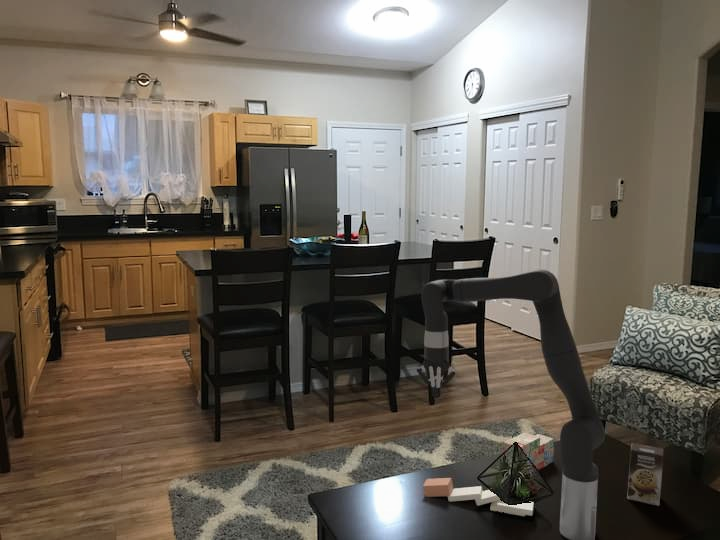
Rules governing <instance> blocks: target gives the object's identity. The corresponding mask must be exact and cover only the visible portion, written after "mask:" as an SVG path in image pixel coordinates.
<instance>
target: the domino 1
mask: <svg viewBox="0 0 720 540" xmlns="http://www.w3.org/2000/svg"><path fill="white" fill-rule="evenodd" d="M422 489H423V492H424V497H425V498H426V497H428V498H431V497H432V498H433V497H435V498H436V497H448V496H450V495H451V493H452V491H453V489H455V488H454V484H453V480H452V477H442V478H441V477H437V478H435V477H434V478H426V480H425V482H424V483H423V485H422Z"/></svg>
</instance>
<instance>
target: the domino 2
mask: <svg viewBox="0 0 720 540" xmlns="http://www.w3.org/2000/svg"><path fill="white" fill-rule="evenodd" d="M483 491H484V490H483V487H482V485H480V486H478V485H477V486H468V487H459V488H458V487H455V488H454V489H453V491H452V493H451V495H450V496H447V499H448V502H450V503H451V502H460V501H461V502H463V501H471V500H475V499H481V498H482V492H483Z"/></svg>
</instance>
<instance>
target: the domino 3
mask: <svg viewBox="0 0 720 540" xmlns="http://www.w3.org/2000/svg"><path fill="white" fill-rule="evenodd" d="M498 500H500V498H499V497H498V496H497V495H496V494H494V493H493V492H491V491H490V490H489V489H486V490H483V492H482V498H481V499H474V502H475V504H476V506H477V507H478V506H482V505H485V504H490V503H492V502H494V501H498Z"/></svg>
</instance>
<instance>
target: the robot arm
mask: <svg viewBox="0 0 720 540" xmlns="http://www.w3.org/2000/svg"><path fill="white" fill-rule="evenodd" d="M560 291H561V290H560V286H559V282H558V279H557V278H556V276H555V274H554V273H553V272H551V271H549V270H547V269H533V270H530V271H527V272H522V273H519V274H514V275H510V276H501V277H471V278H461V279H436V280H433V281H430V282H427V283H426V284H425V285H423V288H422V291H421V304H422V309H423V313H424V337H423V338H424V339H423V345H424V349H423V350H424V354H423V355H424V360H423V362H422V365H421V366H419V367H418V368H417V369H416V372H417V373H418V375H419V376H420V378H421V379H422V381H423V382H424V383H425V384H426V385H427V386H428V385H429V386H431V397H433V399H435V400H436V399H437V400H439V399H440V398H441V397H442V393H443V392H442V390H443V389H442V387H446V386H447V385H448V383H449V382H450V381H451V380H452V378H453V377H454V376H455V375H456V374H457V369H454V368H453V367H451V363H450V361H449V360H450V358H449V357H450V356H449V353H450V351H449V346H450V345H449V343H450V342H449V330H448V328H449V326H448V325H449V322H448V321H449V319H448V317H449V316H448V314H447V312H446V311H444V310H445V309H444V302H455V301H456V302H459V303H472V302H474V303H475V302H484V301H493V300H503V299H510V300H511V299H514V300H522V301H531V302H532V303H533V305H534V308H535V311H536V314H537V317H538V322H539V329H540V331H539V332H540V345H541V346H540V347H541V351H542V355H543V360H544V362H545V366H546V369H547V372H548V374H549V376H550V378H551V379H552V381H553V382H554V383H555V385H556V386H557V387H558V389H559V390H560V391H561V392H562V394H563V395H564V397H565V399H566V401H567V403H568V407H569V411H570V415H571V419H569V420H568V421H566V422H565V423H564V424H563V425H562V426H561V431H560V435H559V460H560V465H561V467H562V470H561V471H562V472H561V473H562V474H561V494H560V513H559V532H560V534H561V535H562V536H563V537H564V538H565V539H568V540H596V538H595V537H596V523H597V506H598V503H597V502H598V486H599V485H598V483H599V467H598V465H597V464H595V463H594V461H593V460H594V458H593V456H594V450H595V449H597V448H599V447H600V446H601V445H602V444H603V443H604V442H605V438H606V431H605V426H604V424H603V421H602V419H601V417H600V415H599V412H598V409H597V408H596V404H595V402H594V400H593V398H592V394H591V390H590V388H589V385H588V382H587V378H586V376H585V372H584V369H583V366H582V361H581V357H580V354H579V351H578V348H577V345H576V342H575V339H574V336H573V333H572V331H571V328H570V325H569V323H568V320H567V317H566V315H565V311H564V307H563V302H562V296H561V292H560ZM426 372H427V373H426ZM446 373H447V375H448V376H447V377H446V378H445V379H444V380H443V378H444V375H445V374H446Z"/></svg>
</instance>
